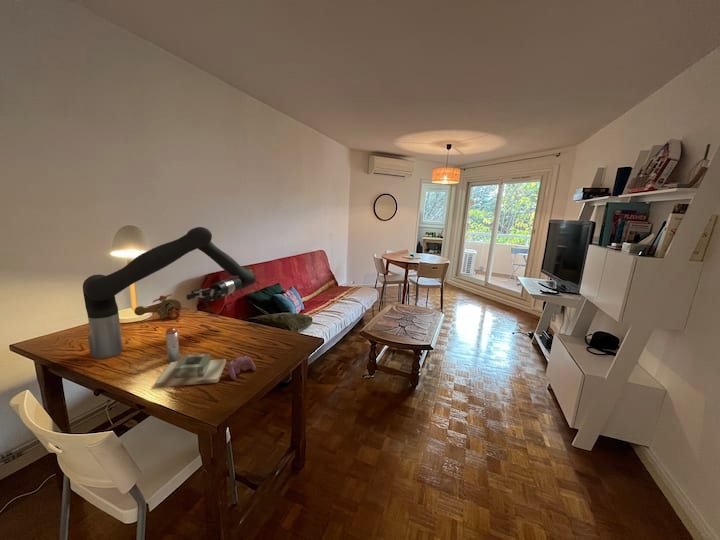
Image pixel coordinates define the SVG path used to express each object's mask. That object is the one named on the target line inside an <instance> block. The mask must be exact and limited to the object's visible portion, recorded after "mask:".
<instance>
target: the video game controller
mask: <svg viewBox="0 0 720 540" xmlns="http://www.w3.org/2000/svg"><path fill="white" fill-rule="evenodd" d="M239 366H241V367H239ZM249 367H250V369H251V370H252V371H253V372H254V371H256V370H257V367H256V365H255V363H254V361H253V359H252V357H250V356H247V355H245V356H239V357H236V358H233V360H231V361H229V362H228V363H227V364H226V370H227V371H228V374H229V376H230V378H231V379H232V380H236V375H237V374H239V373H241V370H242V371H244V372H245V371H247V370H248V368H249Z"/></svg>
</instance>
